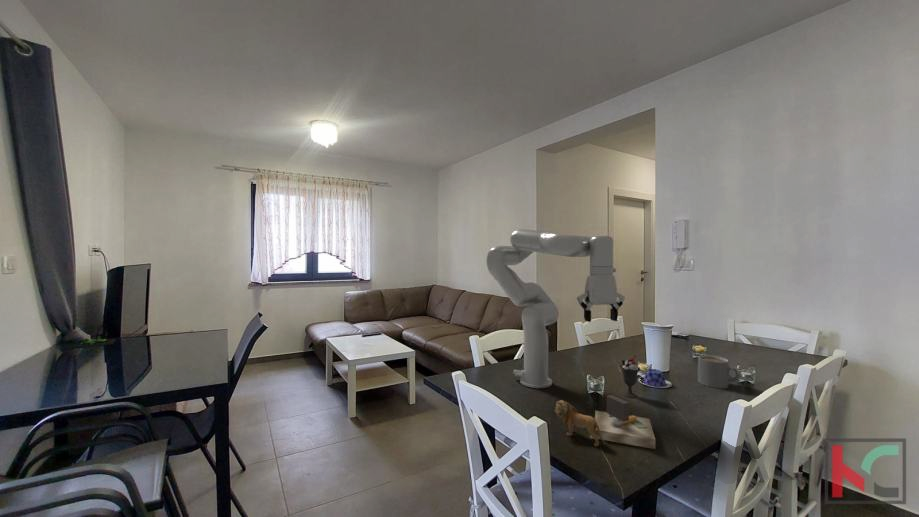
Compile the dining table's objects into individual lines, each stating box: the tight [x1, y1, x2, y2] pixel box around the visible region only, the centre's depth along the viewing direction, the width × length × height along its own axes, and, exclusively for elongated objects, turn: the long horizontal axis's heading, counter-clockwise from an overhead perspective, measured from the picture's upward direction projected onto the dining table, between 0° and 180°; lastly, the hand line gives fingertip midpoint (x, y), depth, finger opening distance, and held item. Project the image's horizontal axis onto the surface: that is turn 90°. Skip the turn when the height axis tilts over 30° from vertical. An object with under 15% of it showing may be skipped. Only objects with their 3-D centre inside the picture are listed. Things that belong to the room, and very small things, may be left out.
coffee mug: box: [697, 354, 741, 389], centre depth 141 cm, size 13×10×10 cm
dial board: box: [594, 410, 656, 450], centre depth 104 cm, size 15×13×3 cm
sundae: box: [619, 354, 641, 399], centre depth 131 cm, size 7×7×15 cm
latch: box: [606, 394, 638, 426], centre depth 104 cm, size 8×6×7 cm
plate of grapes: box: [637, 368, 673, 389], centre depth 143 cm, size 12×12×5 cm
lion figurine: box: [554, 399, 609, 447], centre depth 101 cm, size 15×5×9 cm, turn 52°
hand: (600, 320), depth 125 cm, fingers open, 9 cm apart
